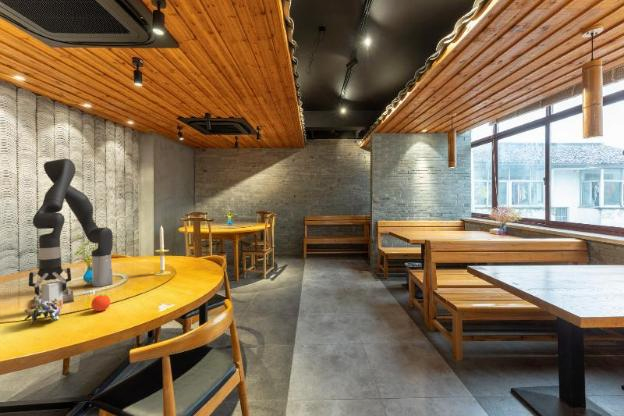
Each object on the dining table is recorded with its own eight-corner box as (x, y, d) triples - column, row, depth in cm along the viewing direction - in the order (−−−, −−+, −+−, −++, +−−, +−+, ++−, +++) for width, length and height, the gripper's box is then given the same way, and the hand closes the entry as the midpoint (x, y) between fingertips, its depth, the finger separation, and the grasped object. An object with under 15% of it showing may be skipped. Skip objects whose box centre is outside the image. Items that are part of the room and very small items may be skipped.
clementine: (110, 305, 136) (110, 290, 136) (115, 309, 132) (115, 293, 131) (89, 311, 130) (88, 295, 130) (94, 314, 126) (93, 298, 125)
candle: (168, 270, 202) (167, 223, 201) (172, 273, 195) (171, 224, 193) (152, 273, 196) (151, 224, 195) (156, 276, 188) (154, 225, 187)
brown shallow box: (72, 292, 156) (72, 287, 156) (73, 301, 142) (73, 296, 142) (34, 299, 146) (33, 293, 146) (31, 309, 132) (30, 303, 132)
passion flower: (56, 333, 121) (63, 313, 117) (19, 337, 113) (26, 315, 109) (57, 311, 128) (64, 291, 124) (22, 313, 120) (28, 292, 116)
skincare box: (49, 312, 129) (48, 285, 129) (41, 311, 130) (40, 284, 130) (63, 307, 135) (62, 281, 135) (56, 306, 136) (55, 280, 136)
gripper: (70, 254, 139) (71, 288, 140) (29, 258, 130) (30, 294, 131) (70, 256, 134) (71, 291, 134) (27, 260, 125) (28, 298, 125)
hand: (51, 293), depth 132 cm, fingers open, 8 cm apart
